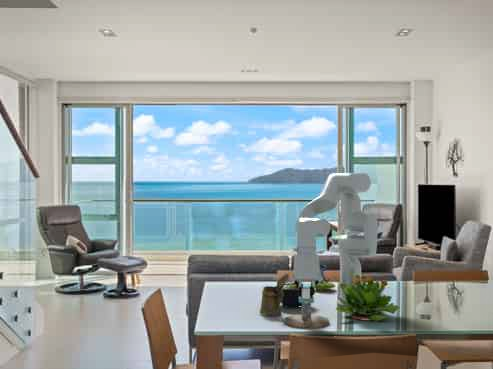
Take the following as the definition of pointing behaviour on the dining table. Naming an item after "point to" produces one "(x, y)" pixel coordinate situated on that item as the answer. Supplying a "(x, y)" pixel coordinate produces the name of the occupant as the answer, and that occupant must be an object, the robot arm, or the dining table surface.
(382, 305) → the potted flower
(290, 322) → the base plate
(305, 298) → the white-capped blue bar
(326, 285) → the figurine
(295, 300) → the bowl
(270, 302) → the wooden mug
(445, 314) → the dining table surface
